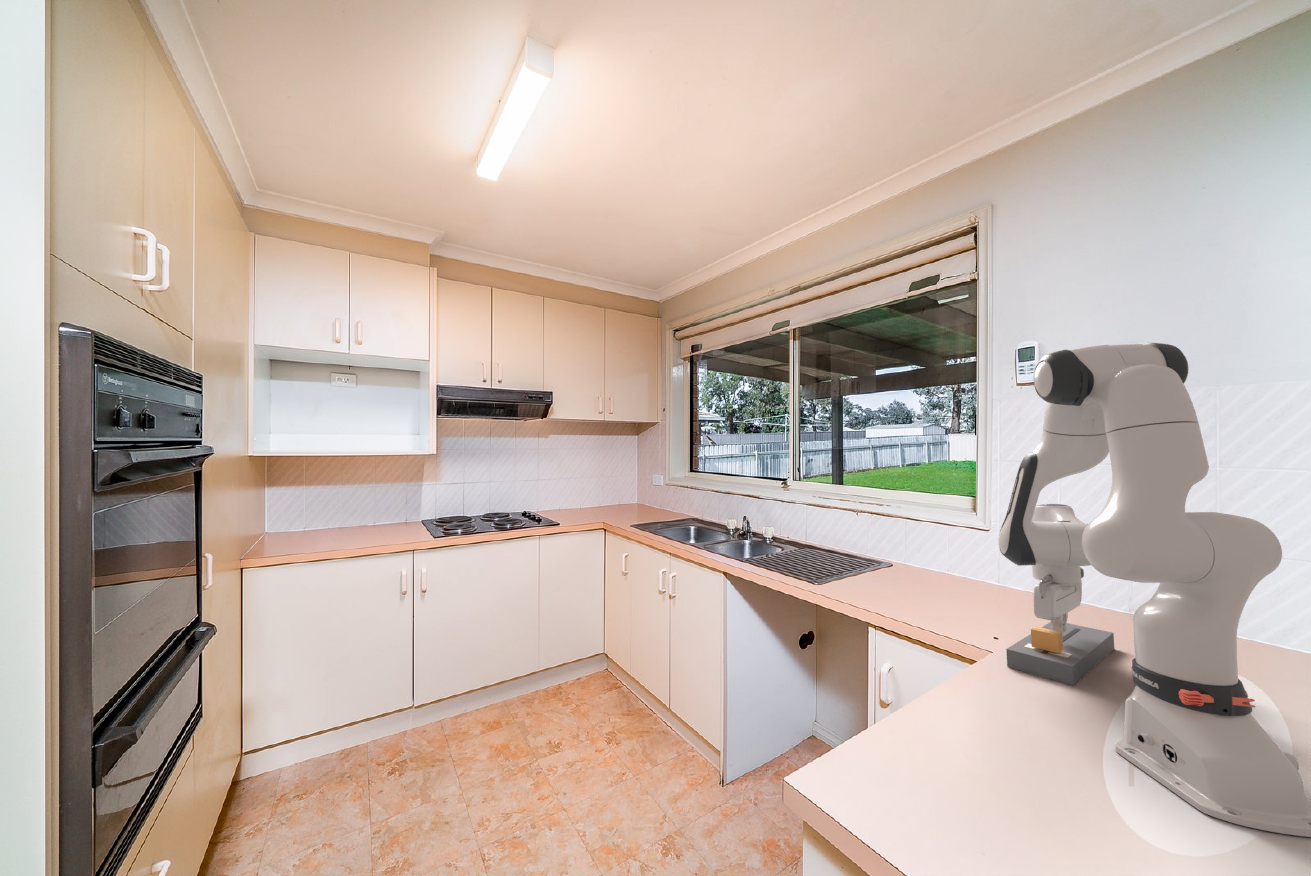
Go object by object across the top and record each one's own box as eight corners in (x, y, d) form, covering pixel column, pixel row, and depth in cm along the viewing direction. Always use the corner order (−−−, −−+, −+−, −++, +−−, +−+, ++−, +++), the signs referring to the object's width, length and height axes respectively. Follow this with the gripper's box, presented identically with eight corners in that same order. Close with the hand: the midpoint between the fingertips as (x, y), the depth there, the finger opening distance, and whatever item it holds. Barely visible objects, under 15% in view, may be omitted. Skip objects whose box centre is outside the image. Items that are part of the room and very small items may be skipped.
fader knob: (1058, 653, 107) (1057, 634, 108) (1031, 646, 111) (1030, 628, 112) (1063, 650, 109) (1062, 631, 109) (1036, 643, 113) (1035, 625, 113)
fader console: (1074, 685, 102) (1072, 665, 102) (1007, 666, 112) (1006, 648, 112) (1114, 649, 120) (1113, 632, 120) (1054, 635, 130) (1053, 619, 130)
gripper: (1057, 581, 107) (1061, 645, 106) (1086, 568, 118) (1090, 626, 117) (1023, 576, 112) (1027, 637, 111) (1053, 564, 123) (1057, 620, 123)
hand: (1059, 631), depth 114 cm, fingers closed
